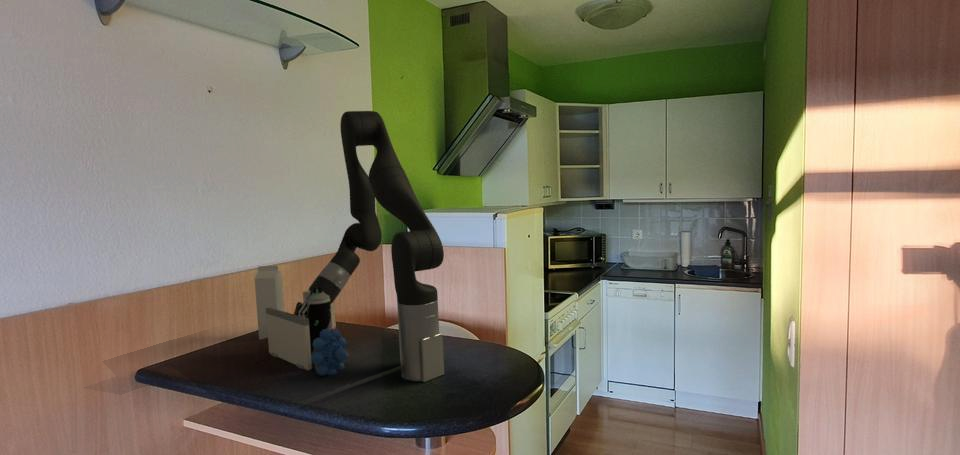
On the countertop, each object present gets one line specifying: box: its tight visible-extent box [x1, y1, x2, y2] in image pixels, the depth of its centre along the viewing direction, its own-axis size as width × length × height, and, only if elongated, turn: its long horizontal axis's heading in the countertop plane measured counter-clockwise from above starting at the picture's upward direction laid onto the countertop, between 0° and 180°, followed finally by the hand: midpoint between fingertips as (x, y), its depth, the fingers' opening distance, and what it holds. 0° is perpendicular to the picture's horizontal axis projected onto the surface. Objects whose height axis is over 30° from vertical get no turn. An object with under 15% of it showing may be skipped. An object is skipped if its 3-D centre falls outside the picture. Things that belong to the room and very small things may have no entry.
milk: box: [254, 265, 286, 340], centre depth 149 cm, size 6×6×22 cm
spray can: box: [307, 287, 332, 366], centre depth 121 cm, size 6×6×20 cm
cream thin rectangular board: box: [266, 307, 313, 371], centre depth 123 cm, size 21×1×13 cm, turn 47°
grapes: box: [311, 328, 350, 376], centre depth 113 cm, size 12×7×12 cm, turn 158°
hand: (290, 336), depth 129 cm, fingers closed
